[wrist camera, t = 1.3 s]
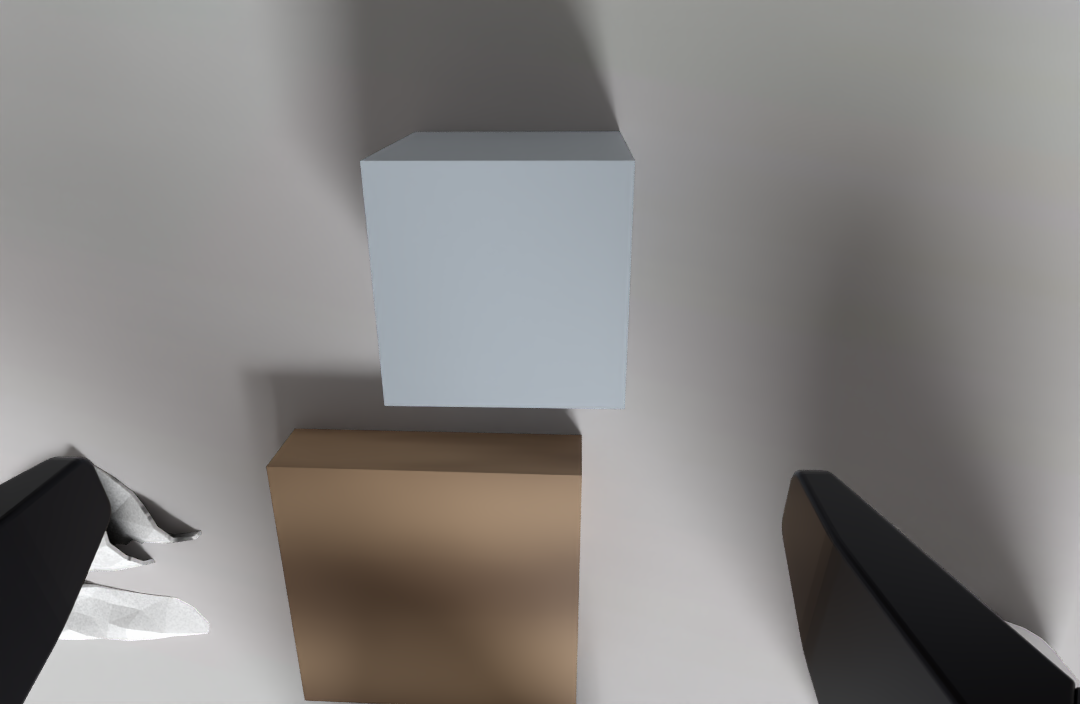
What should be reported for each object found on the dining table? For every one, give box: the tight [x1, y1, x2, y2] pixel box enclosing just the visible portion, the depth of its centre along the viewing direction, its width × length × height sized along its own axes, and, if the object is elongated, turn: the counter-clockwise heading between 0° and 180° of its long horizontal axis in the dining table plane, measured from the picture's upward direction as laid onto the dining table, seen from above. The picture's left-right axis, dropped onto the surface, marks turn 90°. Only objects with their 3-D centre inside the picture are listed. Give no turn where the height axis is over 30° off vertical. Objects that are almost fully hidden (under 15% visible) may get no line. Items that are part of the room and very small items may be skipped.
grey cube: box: [360, 131, 635, 409], centre depth 20 cm, size 6×6×6 cm
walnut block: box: [266, 429, 582, 704], centre depth 26 cm, size 10×10×3 cm
